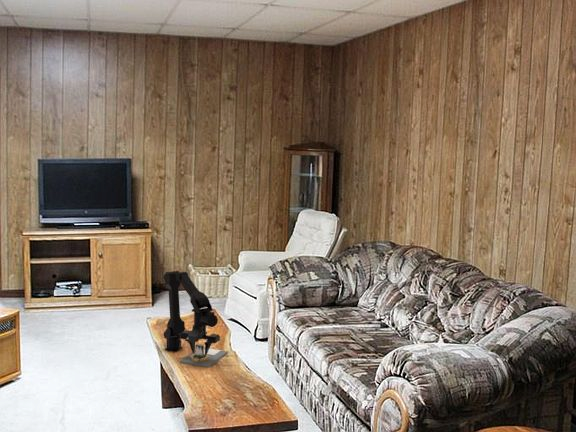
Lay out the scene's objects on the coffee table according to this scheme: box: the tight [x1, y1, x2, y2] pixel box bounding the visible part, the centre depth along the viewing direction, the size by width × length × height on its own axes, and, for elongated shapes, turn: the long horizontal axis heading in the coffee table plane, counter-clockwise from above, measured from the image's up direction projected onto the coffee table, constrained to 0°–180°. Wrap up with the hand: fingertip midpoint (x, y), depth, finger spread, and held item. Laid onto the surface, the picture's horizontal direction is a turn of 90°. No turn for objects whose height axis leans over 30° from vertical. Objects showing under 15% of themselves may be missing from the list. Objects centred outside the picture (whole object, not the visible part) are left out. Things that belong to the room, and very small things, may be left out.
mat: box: [204, 348, 222, 356], centre depth 336 cm, size 8×8×1 cm
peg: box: [195, 343, 205, 358], centre depth 325 cm, size 4×4×7 cm
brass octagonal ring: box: [190, 354, 209, 362], centre depth 325 cm, size 8×8×2 cm
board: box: [179, 347, 229, 368], centre depth 330 cm, size 15×22×1 cm
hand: (199, 354), depth 325 cm, fingers open, 6 cm apart
